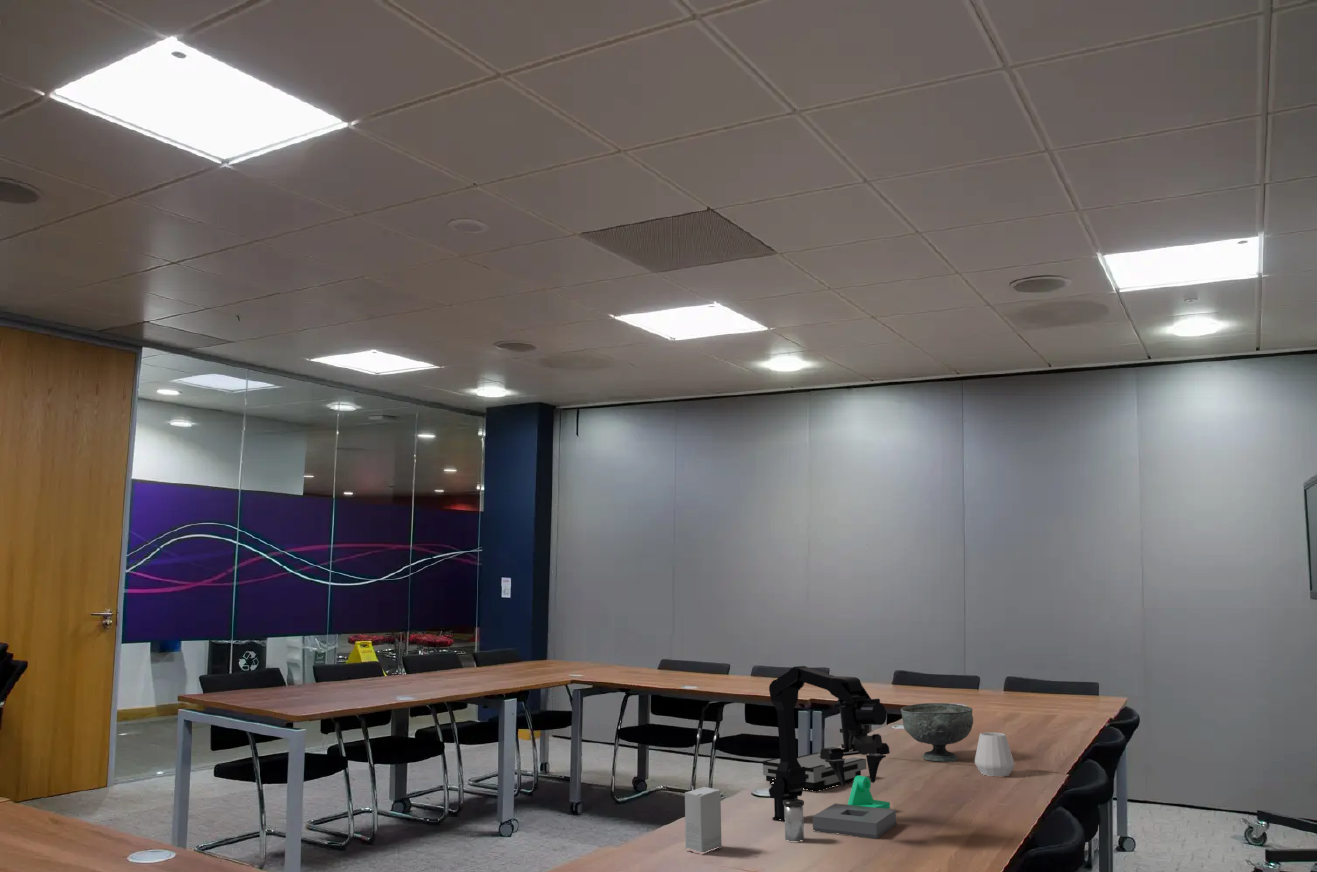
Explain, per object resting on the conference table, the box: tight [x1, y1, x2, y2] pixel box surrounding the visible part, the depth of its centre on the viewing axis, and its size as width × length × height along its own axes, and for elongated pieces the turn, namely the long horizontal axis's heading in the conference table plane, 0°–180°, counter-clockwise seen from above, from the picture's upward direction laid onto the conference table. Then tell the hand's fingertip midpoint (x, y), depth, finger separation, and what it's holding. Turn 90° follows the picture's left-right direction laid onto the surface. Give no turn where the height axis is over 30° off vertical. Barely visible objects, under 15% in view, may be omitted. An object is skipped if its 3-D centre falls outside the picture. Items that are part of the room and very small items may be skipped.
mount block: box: [812, 803, 897, 840], centre depth 273 cm, size 18×18×4 cm
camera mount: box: [846, 775, 891, 809], centre depth 292 cm, size 12×8×10 cm, turn 136°
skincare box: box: [684, 786, 723, 852], centre depth 253 cm, size 8×6×15 cm
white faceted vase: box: [974, 731, 1015, 777], centre depth 347 cm, size 13×13×14 cm
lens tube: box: [783, 798, 805, 841], centre depth 262 cm, size 6×6×10 cm
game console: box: [762, 752, 868, 792], centre depth 338 cm, size 21×32×8 cm, turn 136°
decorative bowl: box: [900, 702, 974, 763], centre depth 379 cm, size 26×26×20 cm
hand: (858, 784), depth 265 cm, fingers open, 9 cm apart
